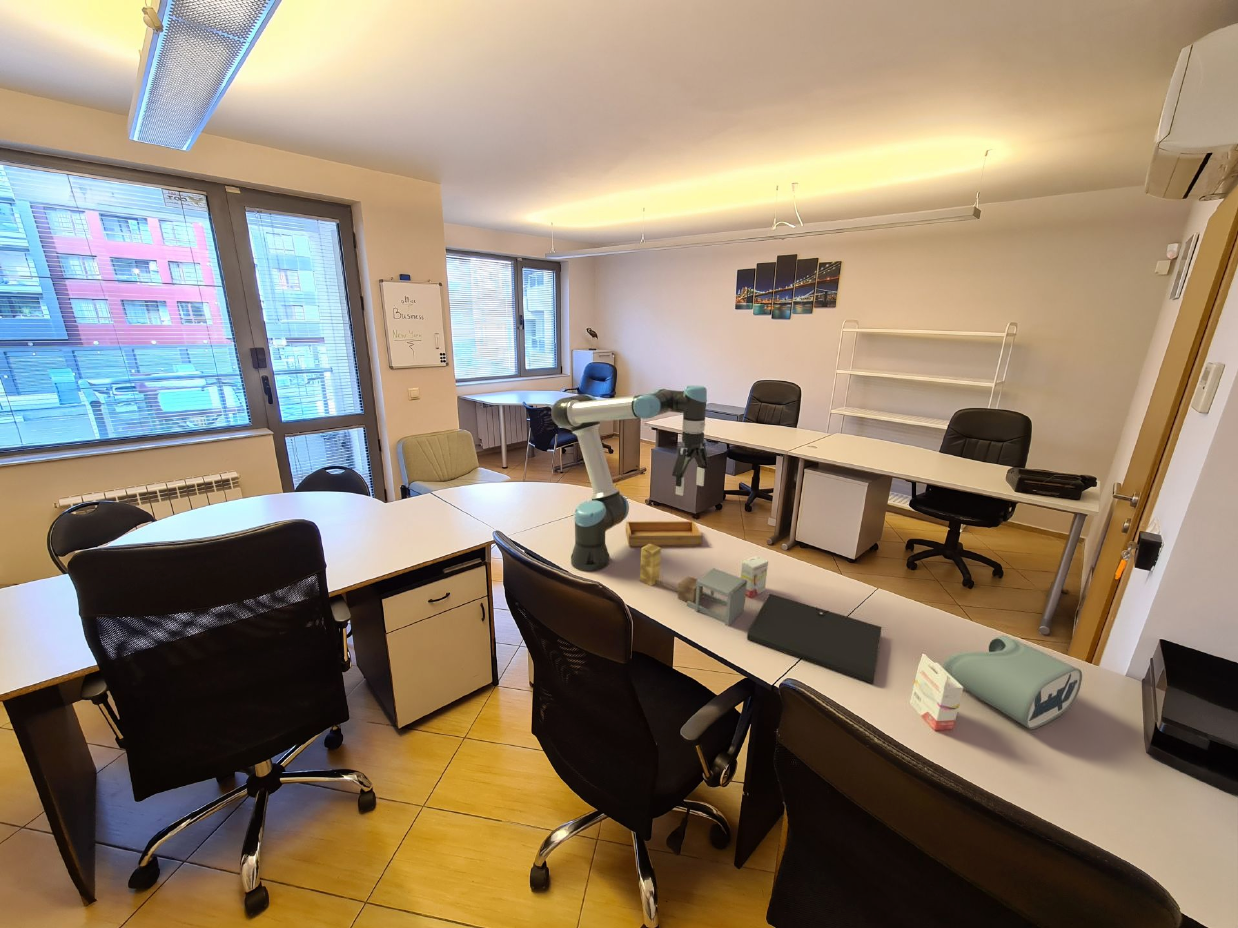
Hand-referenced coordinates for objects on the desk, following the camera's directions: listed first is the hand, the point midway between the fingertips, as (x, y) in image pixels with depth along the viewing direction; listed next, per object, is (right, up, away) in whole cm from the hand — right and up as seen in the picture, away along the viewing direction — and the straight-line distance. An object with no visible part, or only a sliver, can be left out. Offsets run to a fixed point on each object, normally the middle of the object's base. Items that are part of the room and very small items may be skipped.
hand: (689, 489), depth 165 cm
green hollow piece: (+72, -49, -48) cm, 100 cm away
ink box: (+21, -36, -3) cm, 42 cm away
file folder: (+33, -43, -27) cm, 61 cm away
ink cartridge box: (+49, -51, -55) cm, 89 cm away
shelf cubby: (+6, -38, -14) cm, 41 cm away
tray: (-6, -24, +37) cm, 44 cm away
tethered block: (-7, -35, -3) cm, 36 cm away
